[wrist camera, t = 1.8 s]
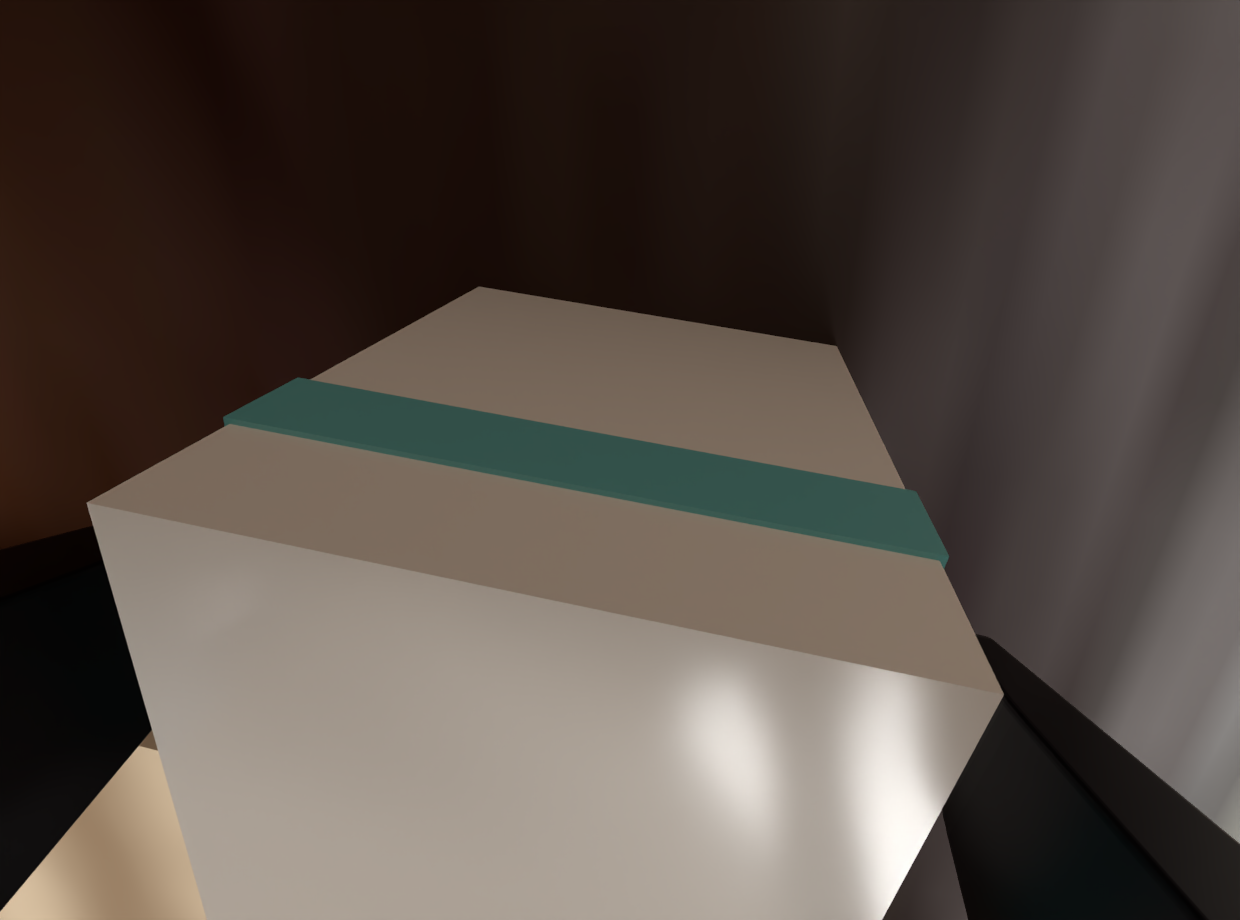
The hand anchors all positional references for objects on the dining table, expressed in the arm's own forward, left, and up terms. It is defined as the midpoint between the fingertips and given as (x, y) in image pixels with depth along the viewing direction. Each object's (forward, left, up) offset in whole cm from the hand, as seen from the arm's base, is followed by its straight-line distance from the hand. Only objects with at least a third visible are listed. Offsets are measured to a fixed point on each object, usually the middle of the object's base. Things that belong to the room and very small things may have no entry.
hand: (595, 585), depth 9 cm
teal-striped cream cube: (0, 0, -3) cm, 3 cm away
